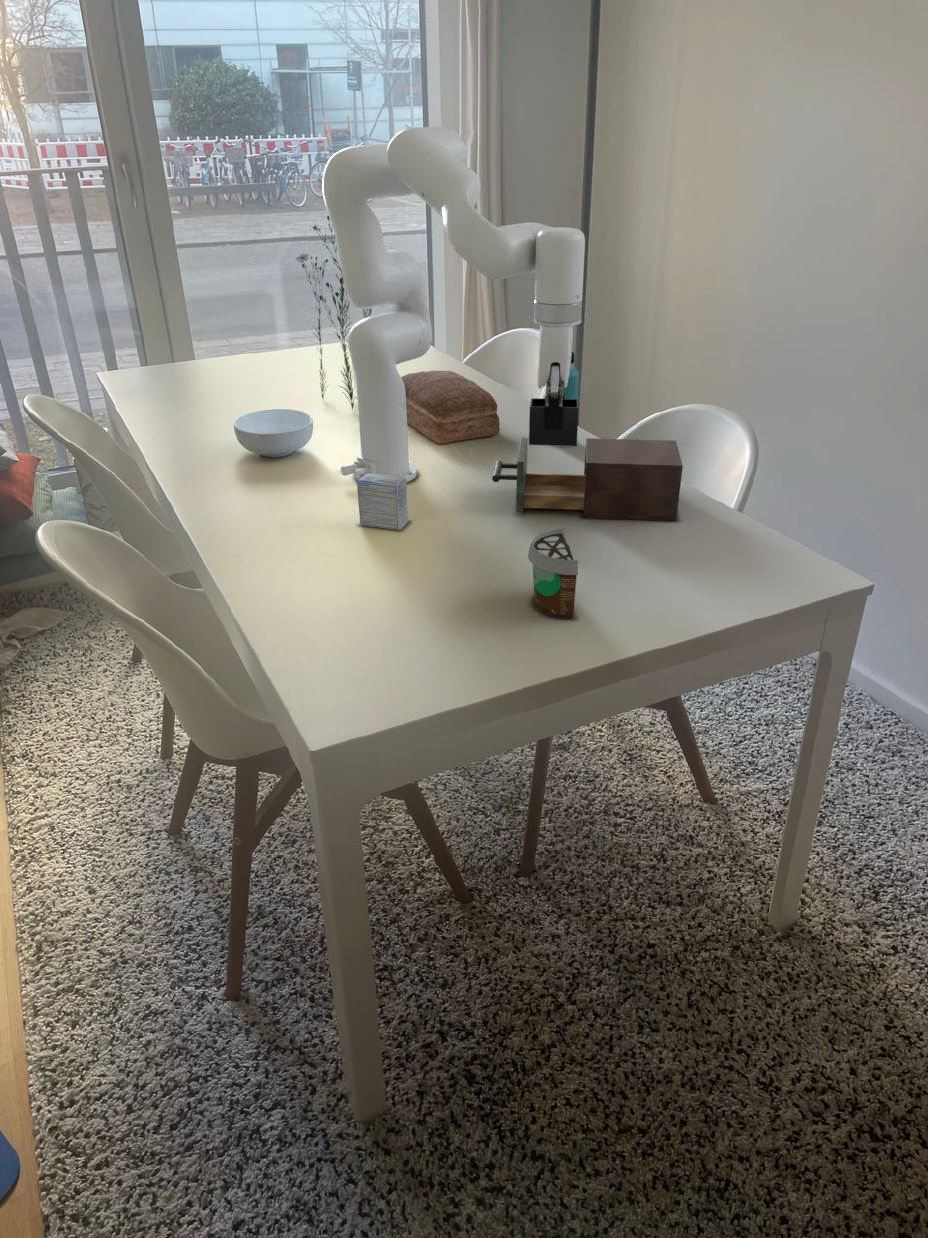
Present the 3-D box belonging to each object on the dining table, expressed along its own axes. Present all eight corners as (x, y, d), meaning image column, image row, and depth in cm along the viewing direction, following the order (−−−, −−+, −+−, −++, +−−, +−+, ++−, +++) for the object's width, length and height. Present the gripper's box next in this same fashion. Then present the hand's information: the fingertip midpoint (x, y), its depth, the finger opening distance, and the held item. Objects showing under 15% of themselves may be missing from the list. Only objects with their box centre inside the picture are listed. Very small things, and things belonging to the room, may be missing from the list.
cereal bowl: (222, 459, 195) (217, 427, 192) (264, 435, 209) (261, 405, 205) (290, 468, 190) (286, 435, 186) (329, 444, 203) (326, 413, 199)
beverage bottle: (575, 447, 199) (579, 355, 189) (545, 446, 200) (548, 354, 190) (577, 438, 205) (582, 348, 195) (548, 436, 206) (551, 347, 196)
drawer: (490, 511, 167) (490, 460, 162) (496, 485, 179) (496, 437, 174) (608, 515, 165) (612, 464, 160) (606, 488, 176) (610, 440, 171)
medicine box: (409, 521, 165) (407, 476, 160) (399, 531, 161) (397, 485, 157) (369, 516, 167) (366, 472, 163) (359, 525, 163) (356, 480, 159)
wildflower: (311, 393, 239) (293, 206, 217) (397, 389, 241) (388, 204, 219) (307, 418, 220) (287, 217, 197) (401, 414, 222) (392, 214, 199)
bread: (449, 403, 230) (448, 357, 224) (503, 436, 207) (504, 386, 201) (387, 412, 223) (384, 365, 218) (435, 447, 200) (434, 396, 195)
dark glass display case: (528, 444, 152) (529, 406, 149) (530, 435, 156) (531, 398, 153) (576, 445, 151) (578, 407, 148) (576, 436, 156) (578, 399, 152)
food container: (521, 586, 142) (522, 528, 137) (560, 584, 143) (562, 526, 138) (533, 625, 132) (535, 563, 127) (574, 623, 132) (578, 561, 127)
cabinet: (583, 518, 166) (586, 462, 160) (583, 490, 177) (586, 438, 172) (676, 521, 164) (682, 465, 159) (670, 493, 176) (675, 440, 170)
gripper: (536, 302, 151) (533, 409, 160) (531, 323, 136) (528, 440, 145) (581, 302, 150) (575, 409, 159) (581, 324, 136) (575, 441, 145)
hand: (553, 423), depth 152 cm, fingers closed on dark glass display case, 5 cm apart
